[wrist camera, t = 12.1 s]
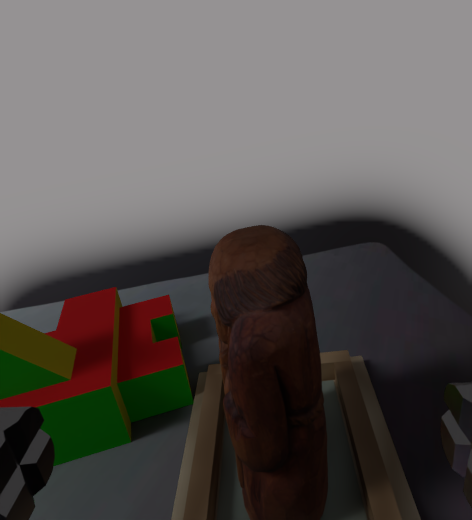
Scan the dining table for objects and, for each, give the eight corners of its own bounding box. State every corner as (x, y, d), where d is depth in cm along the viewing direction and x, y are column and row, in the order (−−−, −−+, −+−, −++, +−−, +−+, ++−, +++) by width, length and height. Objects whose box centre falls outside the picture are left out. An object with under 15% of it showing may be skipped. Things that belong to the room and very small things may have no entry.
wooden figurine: (241, 408, 36) (200, 212, 29) (315, 400, 36) (292, 197, 28) (240, 551, 26) (174, 296, 18) (345, 542, 25) (321, 275, 18)
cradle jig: (150, 656, 22) (136, 628, 21) (200, 378, 42) (195, 356, 41) (463, 648, 21) (466, 616, 19) (361, 362, 41) (360, 338, 39)
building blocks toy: (198, 423, 37) (147, 234, 30) (-105, 518, 34) (-250, 328, 26) (176, 319, 54) (139, 182, 47) (-27, 374, 51) (-102, 234, 43)
